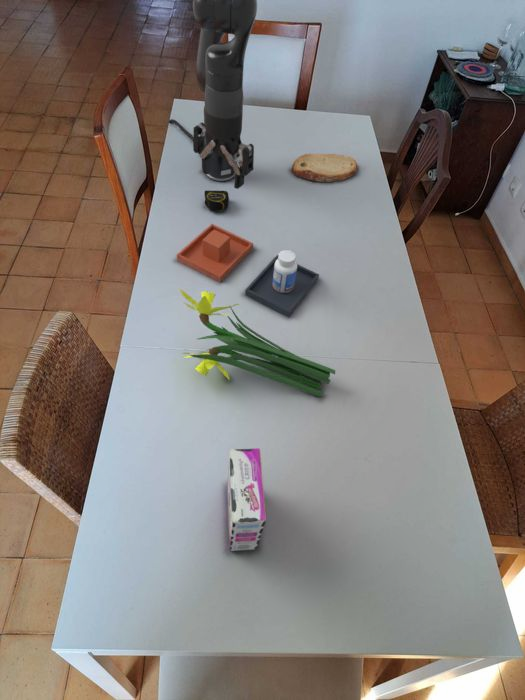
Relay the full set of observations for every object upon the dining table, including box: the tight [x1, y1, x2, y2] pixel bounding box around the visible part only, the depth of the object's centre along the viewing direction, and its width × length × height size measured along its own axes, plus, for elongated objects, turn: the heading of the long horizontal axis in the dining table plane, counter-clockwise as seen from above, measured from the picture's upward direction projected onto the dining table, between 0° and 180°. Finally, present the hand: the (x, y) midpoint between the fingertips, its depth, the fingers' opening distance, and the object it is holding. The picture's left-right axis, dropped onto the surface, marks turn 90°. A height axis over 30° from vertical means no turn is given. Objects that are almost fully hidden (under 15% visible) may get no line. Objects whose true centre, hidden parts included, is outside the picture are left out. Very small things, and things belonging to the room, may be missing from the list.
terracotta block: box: [202, 230, 230, 263], centre depth 115 cm, size 5×5×5 cm
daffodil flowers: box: [178, 287, 336, 398], centre depth 92 cm, size 17×15×35 cm
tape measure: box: [204, 190, 230, 212], centre depth 128 cm, size 7×7×4 cm
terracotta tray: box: [176, 223, 254, 283], centre depth 117 cm, size 13×15×2 cm
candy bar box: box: [226, 447, 267, 552], centre depth 72 cm, size 11×5×16 cm, turn 5°
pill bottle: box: [273, 249, 298, 293], centre depth 108 cm, size 6×5×10 cm
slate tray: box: [244, 254, 320, 318], centre depth 112 cm, size 12×15×2 cm
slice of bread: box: [290, 153, 358, 183], centre depth 144 cm, size 18×18×4 cm
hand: (222, 179), depth 103 cm, fingers open, 8 cm apart
